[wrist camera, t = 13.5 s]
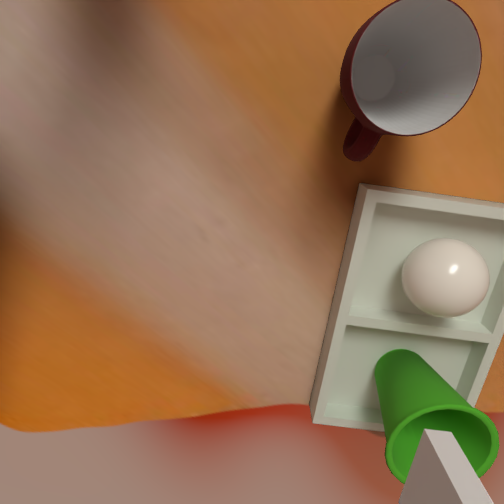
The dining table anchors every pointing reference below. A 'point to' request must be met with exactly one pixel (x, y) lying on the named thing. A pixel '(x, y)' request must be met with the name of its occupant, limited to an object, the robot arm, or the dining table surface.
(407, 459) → the cup
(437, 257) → the white ball
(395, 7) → the mug
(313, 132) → the dining table surface
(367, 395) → the tray
